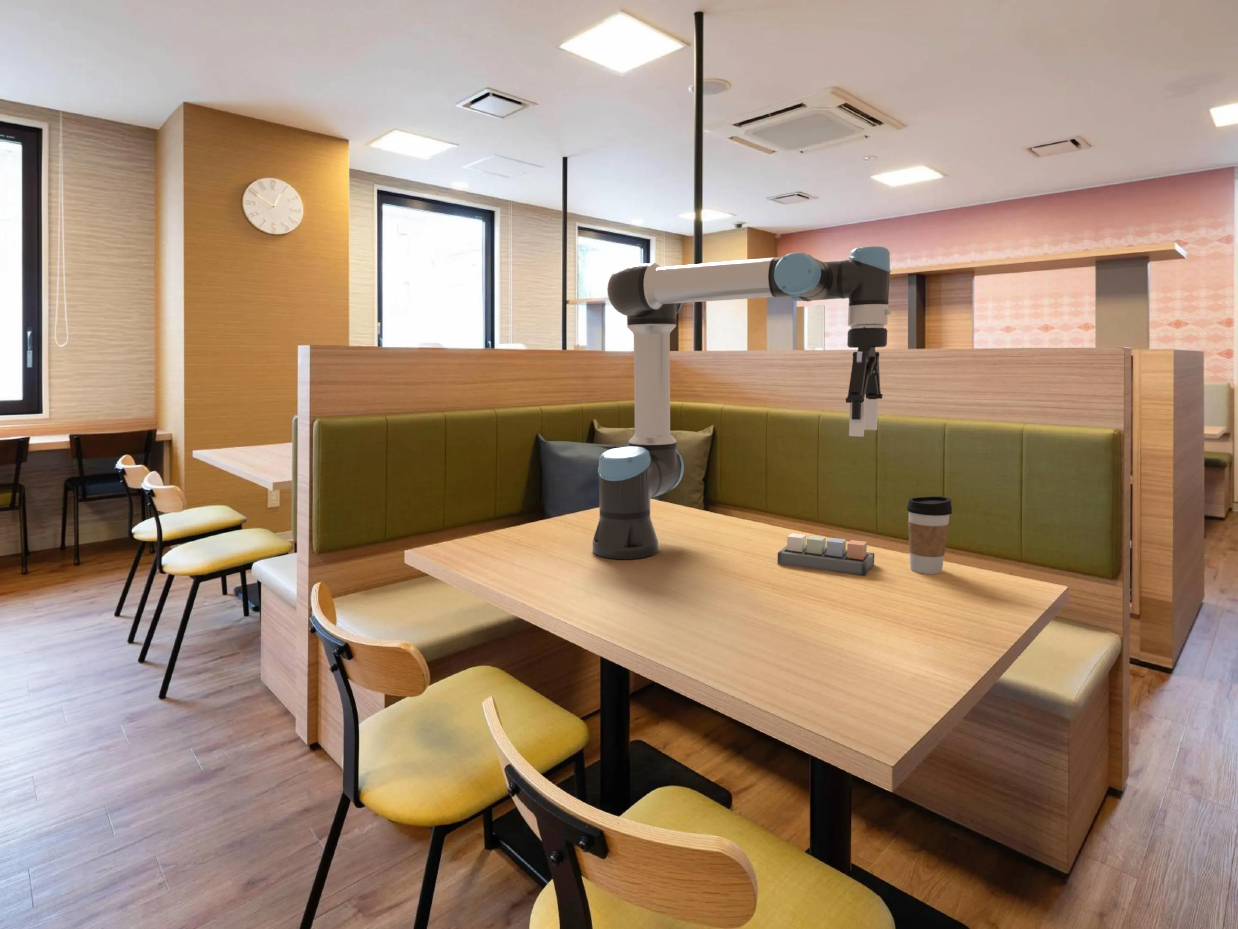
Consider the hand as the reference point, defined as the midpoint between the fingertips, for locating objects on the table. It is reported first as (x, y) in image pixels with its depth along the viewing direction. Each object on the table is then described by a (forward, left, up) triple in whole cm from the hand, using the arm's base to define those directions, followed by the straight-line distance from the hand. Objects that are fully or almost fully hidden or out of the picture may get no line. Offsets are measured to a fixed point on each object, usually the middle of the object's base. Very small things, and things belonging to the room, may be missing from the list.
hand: (863, 433), depth 142 cm
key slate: (-4, -3, -26) cm, 26 cm away
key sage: (-8, -3, -26) cm, 27 cm away
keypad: (-6, -3, -28) cm, 29 cm away
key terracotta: (0, -3, -26) cm, 26 cm away
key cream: (-12, -3, -26) cm, 29 cm away
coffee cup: (+13, +3, -28) cm, 31 cm away
